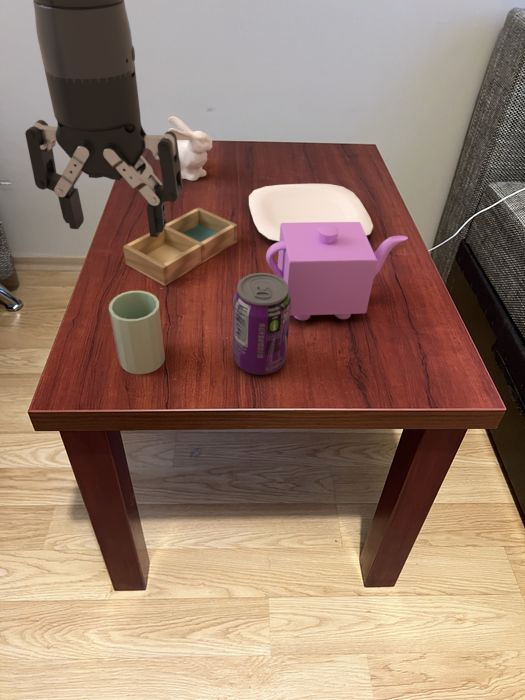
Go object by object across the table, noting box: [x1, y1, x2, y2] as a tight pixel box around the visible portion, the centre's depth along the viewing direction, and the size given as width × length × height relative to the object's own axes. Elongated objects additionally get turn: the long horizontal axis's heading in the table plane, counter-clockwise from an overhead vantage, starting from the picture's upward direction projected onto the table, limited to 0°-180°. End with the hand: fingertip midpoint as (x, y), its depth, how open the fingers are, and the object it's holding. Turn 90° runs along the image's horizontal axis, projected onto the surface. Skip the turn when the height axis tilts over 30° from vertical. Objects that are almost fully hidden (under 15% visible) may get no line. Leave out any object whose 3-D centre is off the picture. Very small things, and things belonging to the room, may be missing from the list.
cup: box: [108, 290, 166, 375], centre depth 69 cm, size 6×6×9 cm
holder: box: [122, 207, 238, 287], centre depth 90 cm, size 17×9×3 cm, turn 142°
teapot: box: [265, 222, 409, 321], centre depth 79 cm, size 20×10×12 cm, turn 95°
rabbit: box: [167, 115, 213, 182], centre depth 109 cm, size 12×9×12 cm
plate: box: [248, 183, 374, 243], centre depth 101 cm, size 22×22×2 cm
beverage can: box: [232, 272, 291, 375], centre depth 69 cm, size 7×7×12 cm
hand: (116, 229), depth 57 cm, fingers open, 8 cm apart
